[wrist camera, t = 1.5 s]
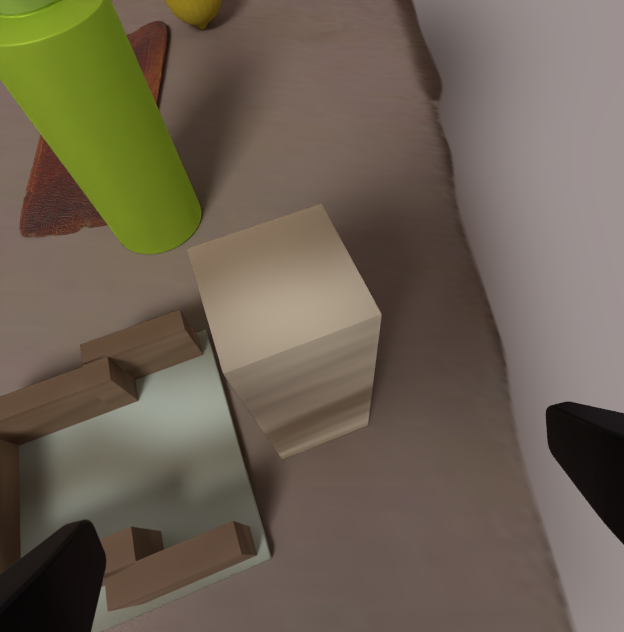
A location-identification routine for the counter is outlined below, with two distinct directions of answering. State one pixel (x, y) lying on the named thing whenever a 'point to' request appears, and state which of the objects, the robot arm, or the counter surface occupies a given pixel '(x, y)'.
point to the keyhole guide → (133, 467)
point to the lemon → (195, 11)
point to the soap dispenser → (98, 117)
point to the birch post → (292, 327)
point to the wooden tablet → (53, 178)
